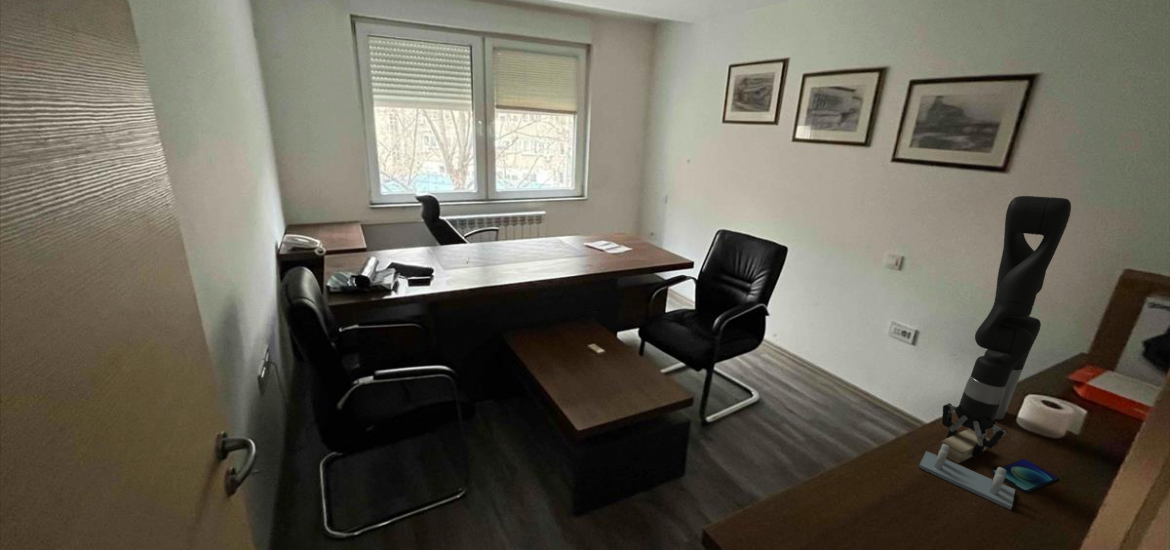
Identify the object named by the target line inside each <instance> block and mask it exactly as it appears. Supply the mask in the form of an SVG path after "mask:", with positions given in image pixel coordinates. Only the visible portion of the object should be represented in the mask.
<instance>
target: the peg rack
mask: <svg viewBox="0 0 1170 550" xmlns="http://www.w3.org/2000/svg"><path fill="white" fill-rule="evenodd" d="M949 449H950V447H949V446H948V445H946V444H942V447H941V449H940V451H939V452H938V454H937V455H936V454H935V453H932V452H930V451H927V450H925V453H924V455H923V456H922V459H921V461H920V462H919V466H918V468H919V469H920V468H921V469H920V470H922V469H923V471H924V470H925V472H927V473H929V472H930V473H929V474H932V475H933V476H936V477H938V478H940V479H943V480H944V481H946V482H948V483H951V484H952V485H955V486H957V487H960V488H962V489H964V490H967V491H969V492H970V493H973V494H975V495H977V496H979V497H982V498H984V499H986V500H987V501H991V502H992V503H995V504H997V505H998V506H1001V507H1002V508H1006V509H1008V510H1010V511H1012V508H1013V504H1014V498H1015V492H1016V488H1012V487H1010V486H1008V485H1006V484H1004V482H1005V481H1004V479H1005V474H1006V470H1005V469H1004V468H1001V467H1002V466H997V468H996V469H997V471H996V473H995V475H993V476H994V477H993V478H990V477H988V476H986V475H983V474H980V473H978V472H976V471H973V470H972V469H969V468H967V467H964V466H962V465H960V464H959V463H956V462H953V461H950V460H949V459H947V458H948V457H947V454H948V451H949Z"/></svg>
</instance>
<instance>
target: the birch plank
mask: <svg viewBox="0 0 1170 550" xmlns="http://www.w3.org/2000/svg"><path fill="white" fill-rule="evenodd" d="M990 440H991V439H990V437H987V441H990ZM942 444H946V445H948V446H949V447H950V449H949V451H948V454H947V457H946V458H948V459H949V460H952V461H954V463H956V464H960V463H963V462H965V461H967V460H968V459H970V458H973V457H974V456H973V455H972V453H973V450H974V448H975V445H976V444H977V437H976V436H975V431H973V430H971V429H970V428H967V429H965V430H962V431H960V432H958V433H957V434H956V435H954V436H951V437H949V438H947V437H946V438H945V439H942V440H941V441H940V444H939V448H938V450H937V452H938V453H939V451H940V449H941V447H942ZM987 448H988V447H984V450H983V452H984V451H987Z"/></svg>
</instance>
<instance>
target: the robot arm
mask: <svg viewBox="0 0 1170 550" xmlns="http://www.w3.org/2000/svg"><path fill="white" fill-rule="evenodd" d="M1071 211H1072V204H1071V201H1070V200H1069V198H1068V199H1067V198H1065V197H1054V196H1052V197H1050V196H1047V197H1046V196H1034V195H1017V196H1016V197H1014V198H1013V199H1011V201H1010V202H1009V204H1008V206H1007V209H1006V213H1005V220H1004V234H1003V235H1004V236H1003V248H1002V254H1001V258H1000V264H999V268H998V272H997V273H998V274H997V278H996V279H997V281H996V288H995V290H996V291H995V295H994V302H993V306H992V308H991V309H990V311H989V313H988V314H987V316H986V318H985V319H984V320H983V322H982V323H981V324H980V325H979V327H978V328H977V330H976V332H975V334H974V341H975V343H976V345H977V346H979V347H981V348H982V349H986V350H985V352H984V353H983V354H984V355H981V356H978V357H977V358H976V360H975V363H974V364H973V368H972V371H971V374H970V376H969V378H968V380H967V382H966V384H965V386H964V390H963V393H962V395H961V398H960V401H959V404H958V405H957V406H955V405H953V404H952V403H950V402H949V403H946V404H944V405H942V422H941V423H942V425H943V426H944V427H946V428H948V432H947V434H946V435H947V436H946V439H947V438H949V437H951V436H954V435H956V434H958V433H959V429H960V428H961V427H964V428H967V429H971V430H973V431H975V436H976V437H977V444H976V445H975V448H974V450H973V453H972V455H973V456H972V457H979V456H981V455H982V454H983V452H984V451H985V450H984V447H987V448H988V449H992V448H994V447H995V446H997V444H998V443H999V442H1000V441H1001V440H1002V439H1003V438H1004V436H1006V434H1007V433H1008V430H1007V429H1006V428H1001V427H1000V426H998V425H996V422H995V420H1002V419H1004V417H1005V415H1006V412H1007V410H1008V409H1009V406H1010V402H1011V400H1012V398H1013V395H1014V393H1015V390H1016V388H1017V385H1018V382H1019V380H1020V377H1021V375H1022V373H1023V370H1024V367H1025V365H1026V362H1027V358H1028V357H1029V354H1030V352H1031V350H1032V347H1033V345H1034V343H1035V341H1036V339H1037V337H1038V335H1039V332H1040V330H1041V325H1042V324H1041V321H1040V319H1039V318H1036V317H1034V316H1031V314H1032V311H1033V308H1034V306H1035V301H1036V298H1037V295H1038V294H1039V293H1040V292H1041V290H1042V288H1043V285H1044V282H1045V279H1046V273H1047V269H1048V268H1049V266H1050V264H1051V261H1052V260H1053V258H1054V256H1055V253H1056V251H1057V249H1058V246H1059V244H1060V242H1061V240H1062V238H1063V235H1064V232H1066V231H1065V230H1066V229H1067V225H1068V223H1069V220H1070V217H1071ZM1025 234H1026V235H1027V234H1028V235H1038V236H1039V235H1040V236H1042V237H1043V238H1042V239H1041V241H1040V243H1039V244H1038V246H1037V248H1036V249H1035V250H1034V249H1033V247H1031V245H1029V243H1028V241H1027V239H1026V237H1025ZM953 413H956V417H957V420H956V421H955V422H953V420H952V419H953ZM989 429H992V434H993V436H992V437H991V439H990V441H987V438H988V437H987V435H988V431H987V430H989ZM983 450H984V451H983Z"/></svg>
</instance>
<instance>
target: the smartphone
mask: <svg viewBox="0 0 1170 550" xmlns="http://www.w3.org/2000/svg"><path fill="white" fill-rule="evenodd" d="M1000 467H1001V468H1004V469H1005V470H1006V474H1005V479H1004V481H1003V482H1005V483H1007V484H1008V485H1011V486H1012V487H1014V489H1017V490H1019V491H1021V492H1023V493H1025V494H1028V493H1031V492H1033V491H1035V490H1037V489H1040V488H1041V487H1044V486H1047V485H1049V484H1051V483H1053V482H1055V481H1058V479H1059V477H1058V476H1057V475H1056V474H1054V473H1052V472H1050V471H1048V470H1047V469H1044V468H1042V467H1041V466H1039V465H1037V464H1036V463H1033V462H1032V461H1029V460H1028V459H1025V458H1022V459H1019V460H1017V461H1014V462H1011V463H1008V464H1006V465H1003V466H1000ZM996 471H997V468H994V469H993V470H992V471H991V474H992V475H993V476H995V473H996Z"/></svg>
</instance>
